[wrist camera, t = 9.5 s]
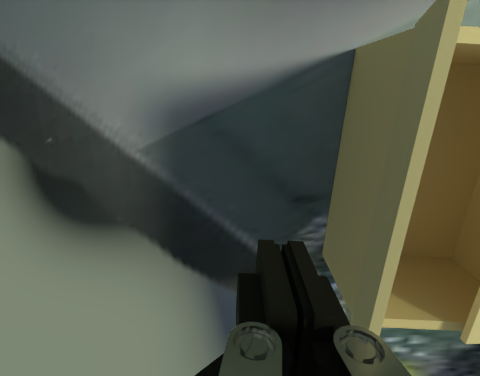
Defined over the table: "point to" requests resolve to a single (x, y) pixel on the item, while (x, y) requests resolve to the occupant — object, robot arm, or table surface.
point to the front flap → (406, 156)
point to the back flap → (473, 323)
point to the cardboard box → (428, 195)
